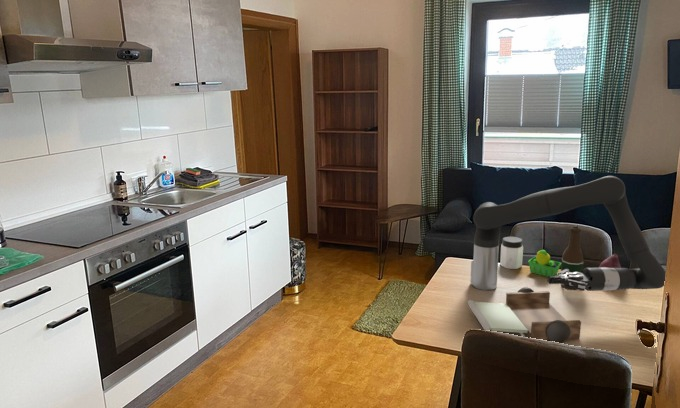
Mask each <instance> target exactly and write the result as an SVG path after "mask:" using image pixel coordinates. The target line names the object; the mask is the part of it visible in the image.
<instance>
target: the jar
mask: <svg viewBox="0 0 680 408" xmlns="http://www.w3.org/2000/svg"><path fill="white" fill-rule="evenodd" d="M500 245H501V246H500V260H499V261H500V263H499V265H501V267H503V268H505V269H509V270H511V269H512V270H518V269H519V268H522V267H523V257H524V256H523V255H524V254H523V253H524V246H523V239H522V238H520V237H517V236H504V237H502V243H501V244H500Z"/></svg>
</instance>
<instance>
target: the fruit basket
mask: <svg viewBox="0 0 680 408" xmlns="http://www.w3.org/2000/svg"><path fill="white" fill-rule="evenodd" d="M527 262H528V267H529V271H530V273H532V274H536V275H539V276H542V277H548V276H558V273H559V270H560V267H561V265H562V262H560V261H556V260H552V259H551V255H550V254H549V253H548V252H547V251H546V250H545V249H541V250H539V251H537V252H536V256H534V257H532V258H530V259H529V260H528V261H527Z"/></svg>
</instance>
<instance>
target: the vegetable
mask: <svg viewBox="0 0 680 408" xmlns="http://www.w3.org/2000/svg"><path fill="white" fill-rule="evenodd" d="M601 267H607V268H622V266H621V263H620V260H619V255H618V254H617V253H614V254H611V255H610V256H609V257H608V258H606V259H604V260H603V261H602V262H601V263H600V264H599V266H598V268H601Z"/></svg>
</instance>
